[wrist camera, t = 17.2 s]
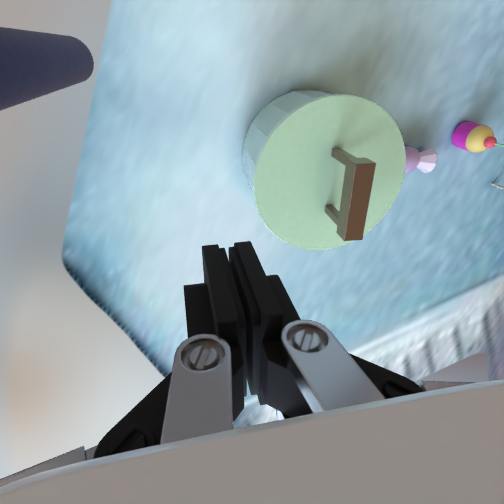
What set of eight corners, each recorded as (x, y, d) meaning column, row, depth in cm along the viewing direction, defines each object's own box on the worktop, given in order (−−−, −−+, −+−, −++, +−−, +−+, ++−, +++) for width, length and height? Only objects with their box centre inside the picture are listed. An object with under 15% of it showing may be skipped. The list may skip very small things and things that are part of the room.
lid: (250, 250, 33) (265, 290, 28) (251, 94, 26) (271, 106, 21) (382, 238, 35) (420, 273, 30) (414, 91, 29) (470, 101, 23)
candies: (367, 186, 41) (395, 206, 36) (386, 114, 37) (420, 125, 32) (495, 190, 45) (536, 208, 40) (524, 125, 41) (574, 136, 36)
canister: (242, 212, 40) (257, 248, 33) (241, 91, 34) (259, 102, 26) (346, 204, 42) (382, 237, 35) (363, 89, 36) (411, 99, 28)
